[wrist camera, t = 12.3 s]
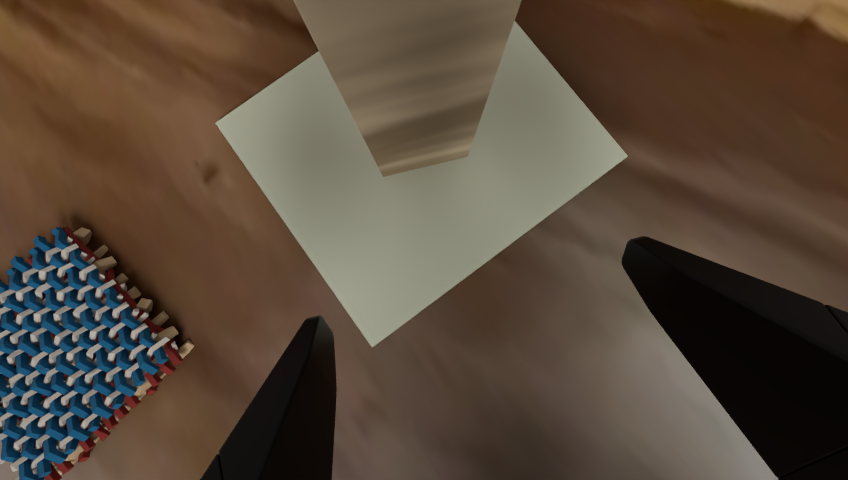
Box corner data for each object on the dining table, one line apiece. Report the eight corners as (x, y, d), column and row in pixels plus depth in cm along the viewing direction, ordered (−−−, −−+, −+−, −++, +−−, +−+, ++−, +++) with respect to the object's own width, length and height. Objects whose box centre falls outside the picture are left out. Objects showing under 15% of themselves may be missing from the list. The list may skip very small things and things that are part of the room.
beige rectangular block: (467, 156, 18) (549, -82, 6) (383, 177, 18) (283, -18, 6) (452, 100, 18) (500, -238, 6) (369, 120, 18) (248, -180, 6)
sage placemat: (373, 345, 17) (372, 347, 17) (219, 126, 18) (214, 123, 18) (623, 158, 18) (627, 156, 17) (458, -40, 19) (458, -47, 19)
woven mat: (70, 482, 17) (22, 510, 15) (-41, 344, 18) (-100, 354, 16) (207, 348, 18) (179, 359, 16) (94, 221, 19) (53, 215, 17)
